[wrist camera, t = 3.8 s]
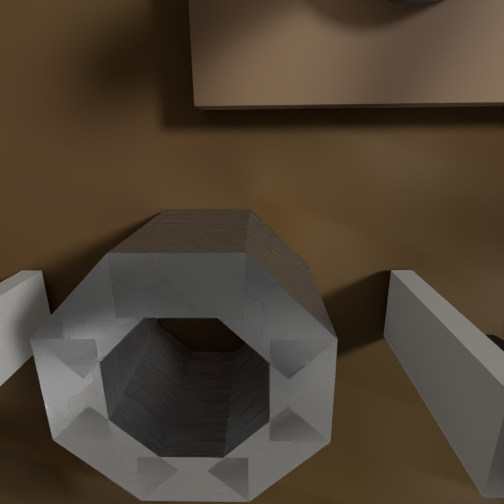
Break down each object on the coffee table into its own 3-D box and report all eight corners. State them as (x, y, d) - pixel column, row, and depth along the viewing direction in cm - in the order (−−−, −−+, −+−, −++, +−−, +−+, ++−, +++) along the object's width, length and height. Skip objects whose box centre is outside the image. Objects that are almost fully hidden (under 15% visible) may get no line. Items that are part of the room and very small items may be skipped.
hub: (128, 384, 15) (66, 499, 10) (104, 210, 13) (10, 253, 8) (304, 385, 15) (325, 503, 10) (311, 209, 13) (343, 252, 8)
